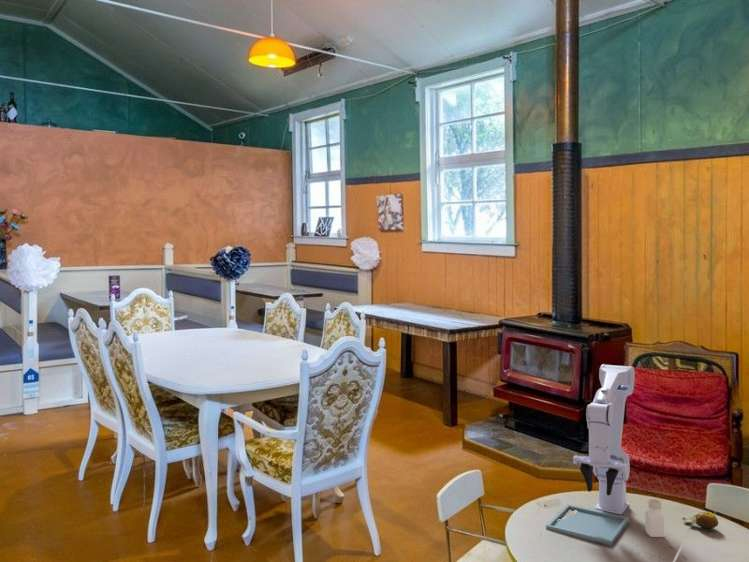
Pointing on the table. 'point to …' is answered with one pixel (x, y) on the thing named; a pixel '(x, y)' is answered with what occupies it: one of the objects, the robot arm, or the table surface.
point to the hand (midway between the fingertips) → (599, 492)
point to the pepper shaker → (654, 519)
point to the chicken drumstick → (704, 520)
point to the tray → (589, 525)
